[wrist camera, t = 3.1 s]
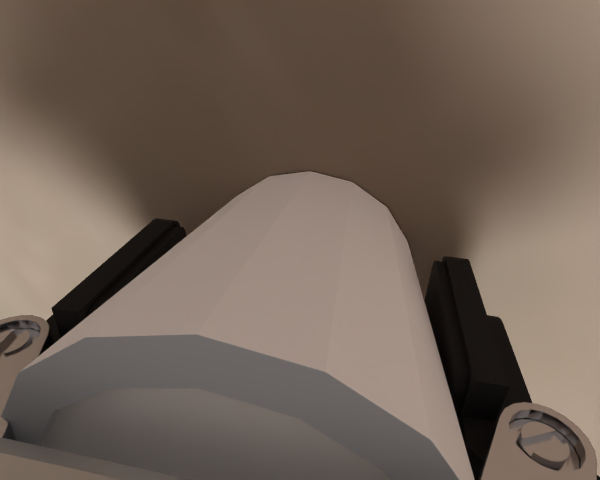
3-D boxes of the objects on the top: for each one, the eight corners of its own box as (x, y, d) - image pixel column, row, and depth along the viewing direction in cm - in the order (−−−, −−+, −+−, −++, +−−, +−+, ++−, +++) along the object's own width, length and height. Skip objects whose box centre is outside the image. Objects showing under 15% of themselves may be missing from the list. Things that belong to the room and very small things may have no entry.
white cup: (151, 193, 12) (-109, 388, 6) (392, 105, 9) (397, 273, 3) (253, 371, 14) (152, 636, 8) (462, 336, 12) (536, 669, 6)
